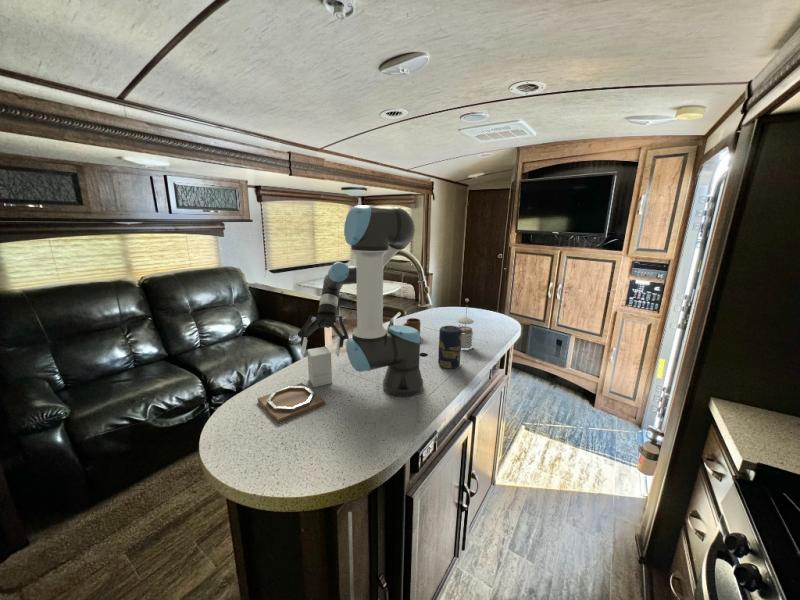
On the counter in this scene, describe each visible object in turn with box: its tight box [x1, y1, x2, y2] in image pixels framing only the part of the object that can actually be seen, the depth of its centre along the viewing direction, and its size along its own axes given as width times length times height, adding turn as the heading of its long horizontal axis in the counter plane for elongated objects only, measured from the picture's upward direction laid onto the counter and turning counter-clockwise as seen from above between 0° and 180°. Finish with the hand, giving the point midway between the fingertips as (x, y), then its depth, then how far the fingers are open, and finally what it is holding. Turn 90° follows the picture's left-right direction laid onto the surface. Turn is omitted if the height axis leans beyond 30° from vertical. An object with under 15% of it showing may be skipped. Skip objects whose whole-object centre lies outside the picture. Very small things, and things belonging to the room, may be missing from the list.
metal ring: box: [267, 385, 315, 412], centre depth 106 cm, size 14×14×1 cm
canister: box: [437, 325, 463, 369], centre depth 136 cm, size 10×10×18 cm
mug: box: [403, 317, 421, 334], centre depth 170 cm, size 12×8×9 cm, turn 138°
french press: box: [457, 298, 475, 348], centre depth 156 cm, size 10×12×25 cm
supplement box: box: [306, 346, 333, 388], centre depth 120 cm, size 7×7×13 cm
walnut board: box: [257, 382, 326, 424], centre depth 107 cm, size 16×16×2 cm
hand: (320, 354), depth 123 cm, fingers open, 13 cm apart
